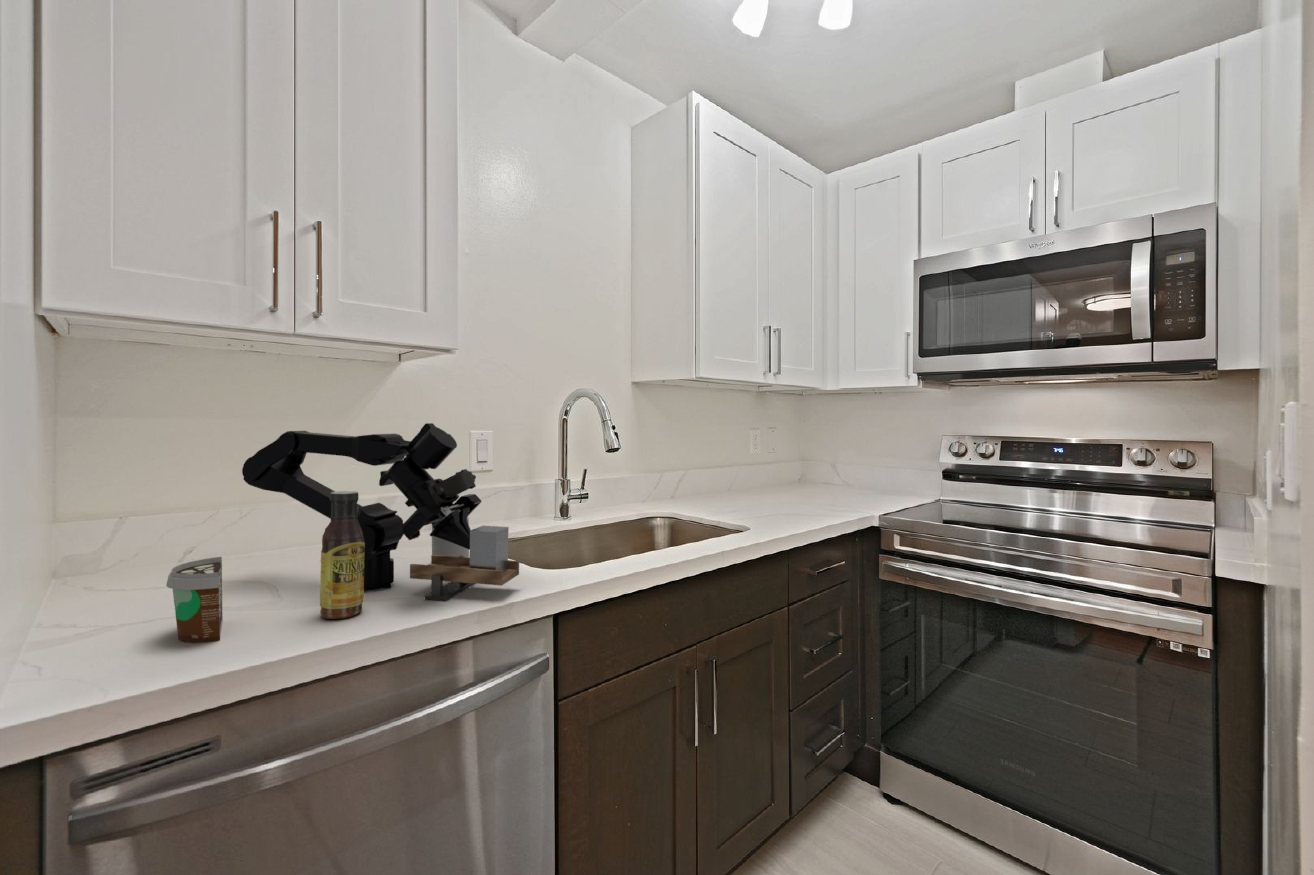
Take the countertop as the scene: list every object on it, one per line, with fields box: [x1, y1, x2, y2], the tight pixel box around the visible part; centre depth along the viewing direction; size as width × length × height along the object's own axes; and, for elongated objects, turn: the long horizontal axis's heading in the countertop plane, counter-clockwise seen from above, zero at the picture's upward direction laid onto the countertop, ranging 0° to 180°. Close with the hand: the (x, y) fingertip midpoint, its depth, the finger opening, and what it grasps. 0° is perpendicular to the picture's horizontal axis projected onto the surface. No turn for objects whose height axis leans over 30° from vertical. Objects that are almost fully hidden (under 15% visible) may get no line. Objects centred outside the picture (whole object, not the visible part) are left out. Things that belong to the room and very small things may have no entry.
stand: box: [424, 574, 476, 602], centre depth 106 cm, size 4×11×4 cm, turn 170°
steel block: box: [469, 525, 509, 573], centre depth 105 cm, size 5×5×8 cm
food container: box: [165, 556, 224, 644], centre depth 84 cm, size 12×6×10 cm, turn 35°
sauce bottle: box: [319, 490, 365, 620], centre depth 93 cm, size 6×6×20 cm
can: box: [431, 516, 470, 558], centre depth 124 cm, size 8×8×12 cm
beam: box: [409, 554, 520, 586], centre depth 105 cm, size 18×8×3 cm, turn 80°
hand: (475, 548), depth 105 cm, fingers closed, pressing on steel block
